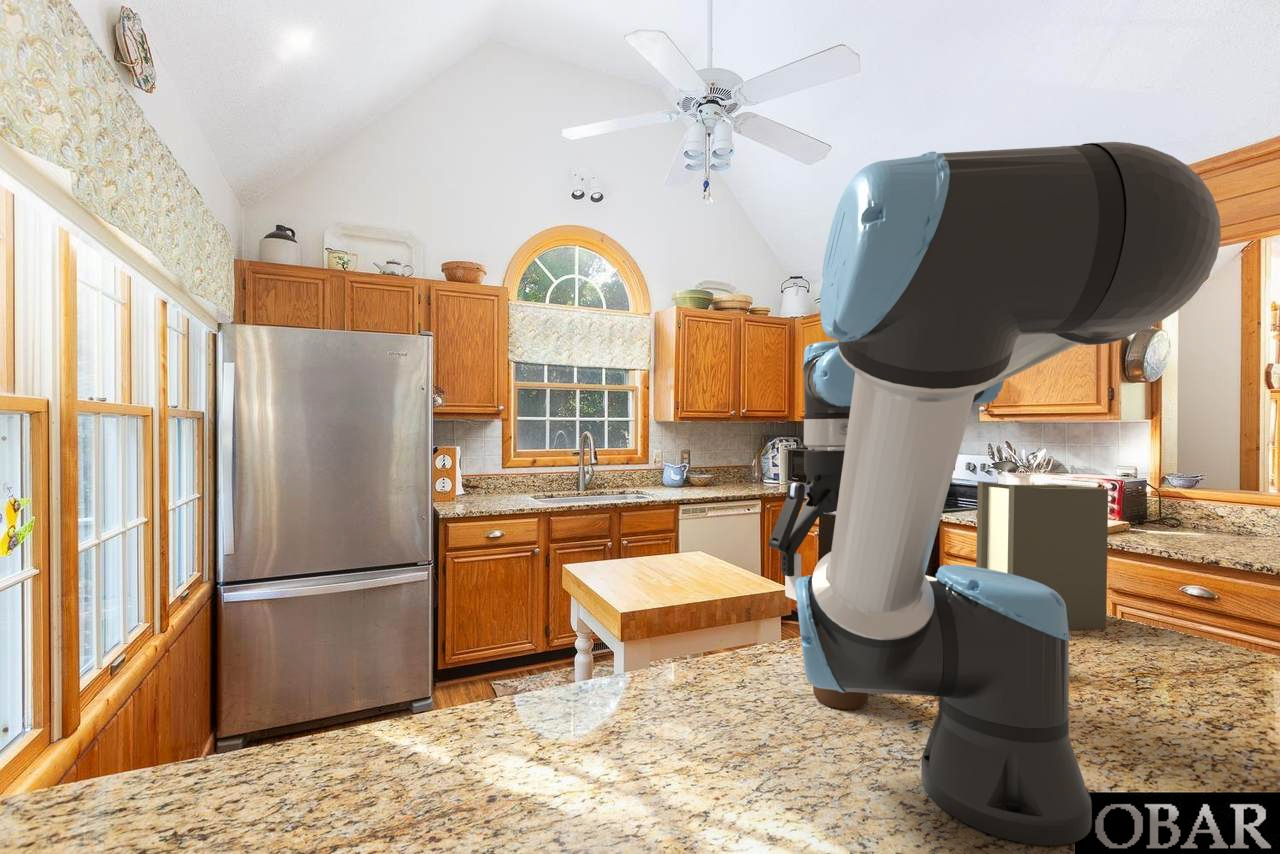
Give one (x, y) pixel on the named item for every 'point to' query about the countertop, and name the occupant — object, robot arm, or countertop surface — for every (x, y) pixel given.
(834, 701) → the mug
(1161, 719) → the countertop surface
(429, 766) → the countertop surface
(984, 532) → the book
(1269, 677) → the countertop surface
